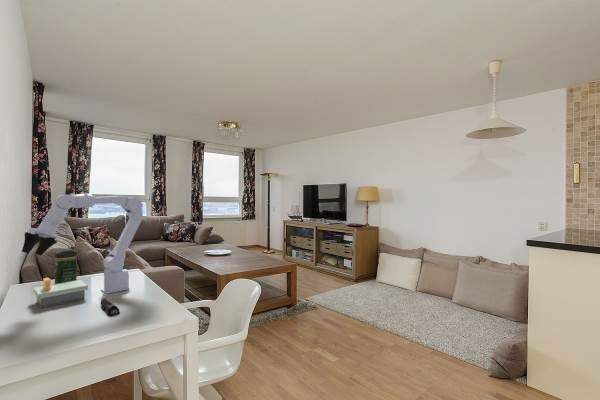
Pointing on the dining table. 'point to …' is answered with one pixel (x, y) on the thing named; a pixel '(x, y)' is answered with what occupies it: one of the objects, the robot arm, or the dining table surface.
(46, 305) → the tub
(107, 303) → the electric trimmer
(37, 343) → the dining table surface
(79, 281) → the lid
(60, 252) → the coffee jar
